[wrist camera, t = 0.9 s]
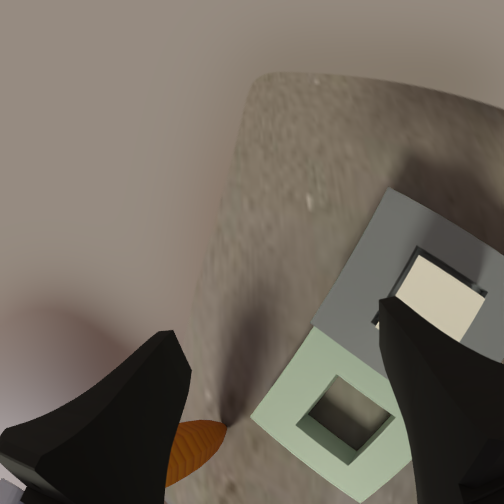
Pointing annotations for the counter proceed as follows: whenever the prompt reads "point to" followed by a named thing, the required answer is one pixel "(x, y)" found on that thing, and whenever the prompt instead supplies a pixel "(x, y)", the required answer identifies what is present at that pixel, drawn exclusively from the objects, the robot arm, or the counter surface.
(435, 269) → the peg
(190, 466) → the carrot
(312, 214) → the counter surface
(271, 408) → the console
